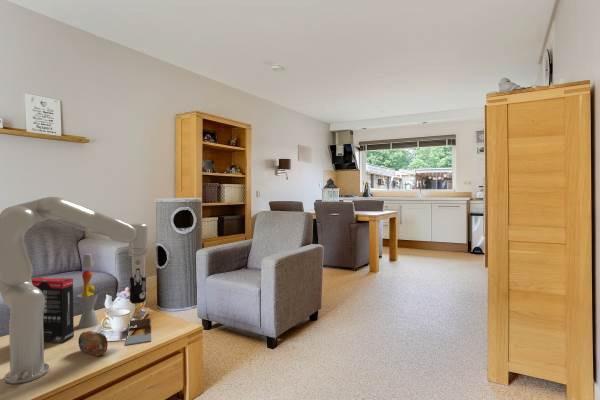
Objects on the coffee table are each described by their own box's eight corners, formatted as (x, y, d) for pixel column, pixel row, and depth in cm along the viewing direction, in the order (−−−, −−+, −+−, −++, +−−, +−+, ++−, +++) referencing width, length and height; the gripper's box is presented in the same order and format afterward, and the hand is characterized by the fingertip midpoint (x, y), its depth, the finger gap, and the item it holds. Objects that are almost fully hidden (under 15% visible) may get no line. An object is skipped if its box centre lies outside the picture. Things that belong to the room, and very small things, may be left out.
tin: (77, 351, 142) (77, 330, 141) (85, 348, 144) (85, 328, 144) (101, 358, 135) (101, 337, 135) (109, 355, 138) (109, 334, 138)
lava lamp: (88, 328, 165) (87, 255, 164) (72, 327, 167) (72, 255, 166) (103, 322, 173) (102, 252, 173) (88, 320, 176) (87, 252, 175)
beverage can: (135, 304, 149) (135, 277, 149) (126, 302, 153) (126, 275, 153) (149, 301, 155) (149, 274, 155) (140, 298, 158) (140, 272, 158)
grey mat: (151, 341, 151) (151, 340, 151) (125, 345, 147) (125, 344, 147) (151, 333, 159) (151, 332, 159) (126, 337, 155) (126, 336, 155)
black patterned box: (151, 333, 159) (151, 325, 159) (126, 337, 155) (126, 328, 155) (151, 326, 168) (151, 317, 168) (128, 329, 164) (128, 320, 164)
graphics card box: (75, 337, 155) (74, 277, 155) (63, 344, 148) (62, 280, 148) (40, 335, 157) (39, 276, 156) (26, 342, 150) (25, 279, 149)
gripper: (147, 254, 147) (147, 295, 147) (147, 248, 163) (146, 286, 163) (128, 255, 144) (127, 297, 144) (129, 249, 160) (129, 287, 160)
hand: (137, 291), depth 154 cm, fingers closed on beverage can, 6 cm apart
